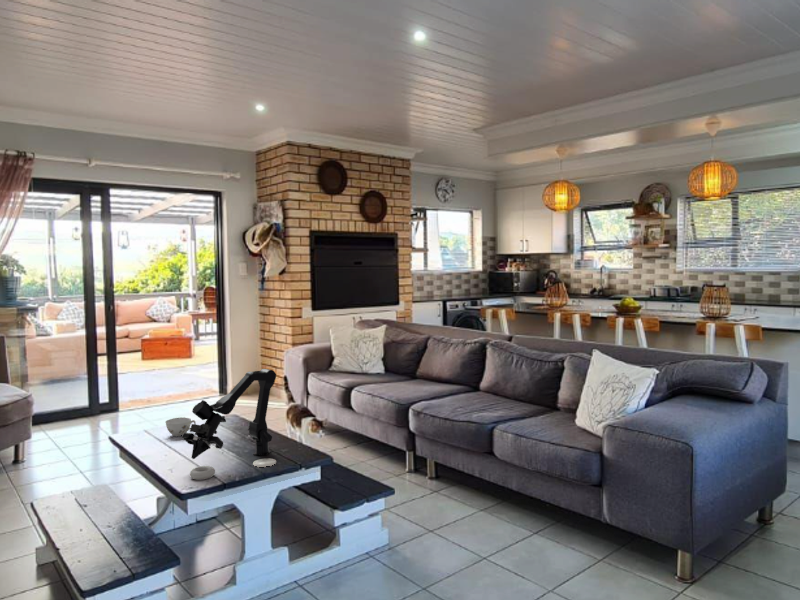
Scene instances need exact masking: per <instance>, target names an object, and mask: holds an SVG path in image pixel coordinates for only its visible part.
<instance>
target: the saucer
mask: <svg viewBox="0 0 800 600" xmlns="http://www.w3.org/2000/svg"><path fill="white" fill-rule="evenodd" d="M274 464H275V465H277V460H276V459H275V458H270V457H269V458H260V459H256V460H254V461H253V463H252V466H253V465H254V466H253V467H255V466H257V467H256V468H259V467H264V468H267V467H266V466H270V467H273V466H275V465H274ZM272 465H273V466H272Z"/></svg>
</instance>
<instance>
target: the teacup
mask: <svg viewBox="0 0 800 600" xmlns="http://www.w3.org/2000/svg"><path fill="white" fill-rule="evenodd" d="M192 424H195V425H197V423H196V420H195V419H194V420H193V419H191V418H189V417H185V416H184V417H180V416H179V417H173V418H170V419H167V420H165V425H166V429H167V432H169V434H171V435H172V436H173V437H175V436H178V437H182V436H181V435H183V434H184V433H186V432H187V433H188V431H190V428H191V425H192Z"/></svg>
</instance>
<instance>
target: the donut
mask: <svg viewBox="0 0 800 600" xmlns="http://www.w3.org/2000/svg"><path fill="white" fill-rule="evenodd" d="M215 474H216V469H215V468H214V467H212V466H210V465H203V466H197V467H195V468H193V469H191V470H190V473H189V476H190V478H191V479H192V480H196V481H203V480H207V479H211V478H213V476H214V475H215Z"/></svg>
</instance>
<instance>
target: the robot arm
mask: <svg viewBox="0 0 800 600" xmlns="http://www.w3.org/2000/svg"><path fill="white" fill-rule="evenodd" d="M276 378H277V373H276V371H274V370H273V369H269V368H262V369H261V370H254V371H247V372H246V373H245V374H244V376H243V377H242V378H241V379H240V380H239V381H238V382H237V384H236V385H235V386H234V387H233V388H232V389H231V390H230V392H228V393H227V394H226V395H224V396H222V397H221V398H219V399H218V400H217V401H216V402H215V403H212V404H209V403H208V401H206V400H204V399H202V400H201V401H200V402H198V403H197V404H194V406H193V408H192V411H191V412H192V413H193V414H194V415H195V416H197V418H199V419H200V420H202V421H205V422H204V423H202V424H196V425H195V424H194V423H191V425H190V430H189V432H188V431H187V432H186V433H184V434H183V436H181V438H182V439H183V440H184V441H185V442H186V443H187V444H189V445H192V451H191V453H192V454H191V459H193V460H195V459H196V458H197V457H199V456H201V454H203V453H205V452H206V451H208V450H210V449H211V445H214V446H215V448H216V449H219V450H220V449H222V448H223V447H224V441H223V440H222V439H221V438H220V437H219V436H215V435H216V434H218V431H217V429H218V427H219V426H220V424H221V423H226V422H227V420H226V416H228V415H229V414H230V413H232V411H233V410H234V408H235V407H236V404H237V401H238V400H239V399H240V398H241V397H242V395H243V394H244V393H245V392H246V390H248V388H249V387H251V385H252V384H253V383H254V382H255V381H257V382H258V386H259V391H258V399H257V404H256V409H255V415H254V419H253V421H249V423H248V429H247V430H248V434H249V435H250V436H251V438H252V440H253V441H255V452H253V456H267V455H269V454H270V453H271V452H272V449H269V448H270V447H269V442H271V441H272V440H273V436H272V434H270V432H268V425H267V421H266V420H267V419H266V418H267V412H268V407H269V406H268V405H269V400H270V393H271V389H272V387H273V385H274V384H275V382H276ZM221 414H222V415H221ZM225 415H226V416H225ZM214 434H215V435H214ZM268 453H269V454H268Z"/></svg>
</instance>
